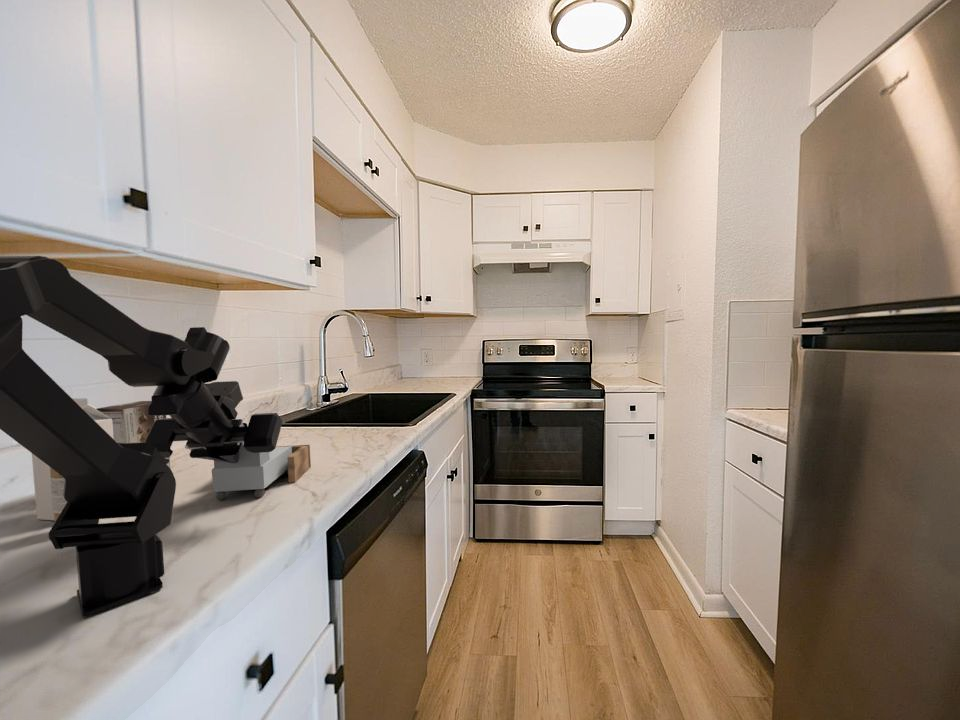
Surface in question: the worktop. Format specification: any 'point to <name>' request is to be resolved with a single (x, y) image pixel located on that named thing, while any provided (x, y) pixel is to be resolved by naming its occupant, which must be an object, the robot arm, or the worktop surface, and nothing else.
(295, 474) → the bay
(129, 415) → the coffee box
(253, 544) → the worktop surface
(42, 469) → the milk carton
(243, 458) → the trolley
